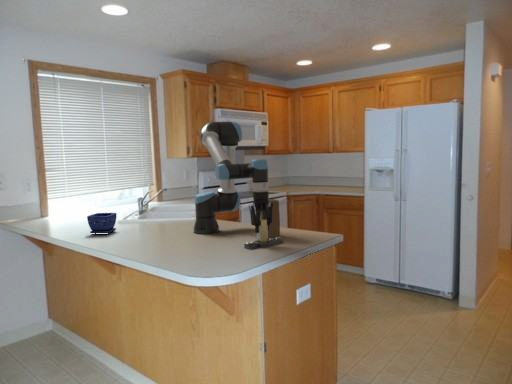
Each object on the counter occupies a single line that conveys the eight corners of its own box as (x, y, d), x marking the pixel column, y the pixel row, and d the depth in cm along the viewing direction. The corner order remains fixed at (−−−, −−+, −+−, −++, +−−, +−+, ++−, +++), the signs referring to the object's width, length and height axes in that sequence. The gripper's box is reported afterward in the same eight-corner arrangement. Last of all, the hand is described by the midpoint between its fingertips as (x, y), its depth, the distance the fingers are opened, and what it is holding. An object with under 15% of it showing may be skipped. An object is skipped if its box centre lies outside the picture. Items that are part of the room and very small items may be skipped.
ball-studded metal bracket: (242, 247, 187) (241, 242, 187) (276, 240, 199) (275, 235, 199) (250, 250, 181) (250, 244, 181) (285, 243, 193) (285, 237, 193)
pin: (257, 243, 190) (256, 219, 189) (263, 242, 192) (262, 218, 191) (261, 244, 187) (260, 220, 186) (267, 243, 189) (266, 219, 188)
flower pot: (118, 231, 243) (117, 212, 242) (108, 235, 230) (107, 215, 229) (98, 231, 244) (97, 212, 243) (87, 235, 231) (85, 216, 230)
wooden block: (262, 239, 203) (261, 201, 201) (257, 235, 213) (255, 199, 211) (280, 237, 206) (279, 200, 204) (274, 234, 215) (273, 198, 213)
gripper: (250, 192, 179) (252, 242, 182) (278, 190, 189) (280, 237, 191) (242, 192, 186) (244, 240, 188) (269, 189, 195) (271, 235, 197)
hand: (262, 238), depth 189 cm, fingers closed on pin, 3 cm apart
